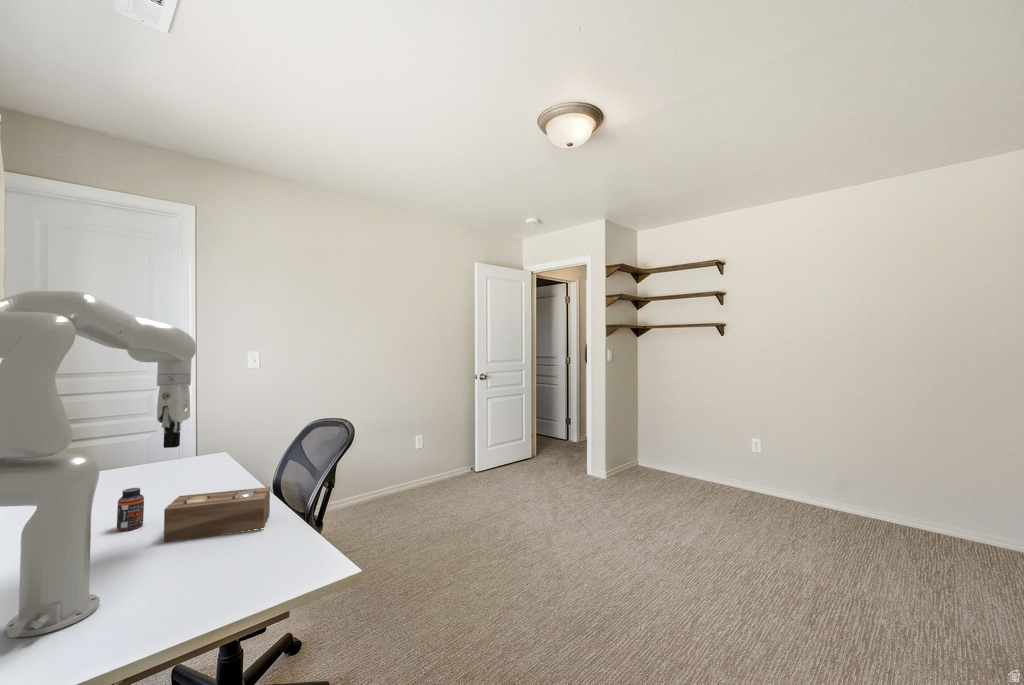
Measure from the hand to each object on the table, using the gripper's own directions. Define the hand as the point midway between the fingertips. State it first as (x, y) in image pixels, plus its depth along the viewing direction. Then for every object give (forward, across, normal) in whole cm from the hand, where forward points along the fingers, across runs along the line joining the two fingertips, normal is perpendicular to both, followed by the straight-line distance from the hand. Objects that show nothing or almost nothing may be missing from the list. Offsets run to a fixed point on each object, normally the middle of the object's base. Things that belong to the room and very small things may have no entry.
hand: (171, 446), depth 121 cm
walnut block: (+26, +7, -11) cm, 29 cm away
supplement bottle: (+26, +16, +15) cm, 34 cm away
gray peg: (+25, +7, -17) cm, 31 cm away
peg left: (+25, +7, -5) cm, 27 cm away
